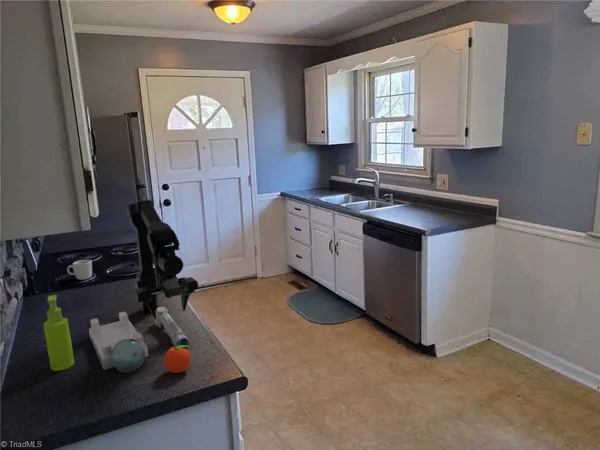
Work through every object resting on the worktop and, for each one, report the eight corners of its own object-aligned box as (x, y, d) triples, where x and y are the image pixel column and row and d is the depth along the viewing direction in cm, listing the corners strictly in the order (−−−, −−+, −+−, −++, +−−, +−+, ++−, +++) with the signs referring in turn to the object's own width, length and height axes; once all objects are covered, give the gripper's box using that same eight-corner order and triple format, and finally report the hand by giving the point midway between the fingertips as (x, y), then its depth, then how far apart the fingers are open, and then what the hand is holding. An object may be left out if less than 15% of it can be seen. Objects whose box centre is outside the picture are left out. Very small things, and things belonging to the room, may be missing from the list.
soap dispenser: (74, 356, 126) (64, 291, 122) (74, 367, 120) (63, 299, 116) (51, 362, 123) (40, 295, 119) (50, 373, 117) (38, 303, 113)
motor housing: (90, 337, 138) (86, 313, 137) (129, 327, 145) (126, 304, 143) (107, 379, 113) (103, 351, 111) (154, 364, 119) (150, 338, 118)
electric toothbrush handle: (173, 340, 125) (150, 304, 145) (175, 360, 127) (152, 321, 147) (191, 335, 128) (166, 300, 148) (192, 354, 130) (167, 317, 150)
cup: (66, 282, 196) (63, 265, 195) (71, 277, 204) (69, 261, 202) (91, 280, 198) (89, 263, 197) (95, 275, 206) (93, 258, 205)
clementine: (188, 360, 121) (186, 337, 119) (200, 370, 115) (197, 345, 114) (161, 371, 116) (158, 346, 114) (171, 381, 111) (168, 355, 109)
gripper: (139, 280, 122) (146, 331, 125) (202, 267, 132) (206, 315, 135) (131, 271, 131) (136, 319, 134) (190, 259, 141) (194, 304, 144)
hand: (169, 314), depth 137 cm, fingers open, 9 cm apart
